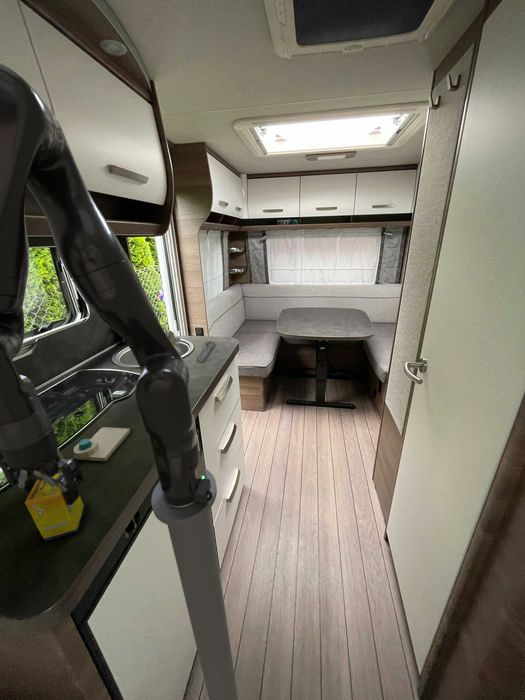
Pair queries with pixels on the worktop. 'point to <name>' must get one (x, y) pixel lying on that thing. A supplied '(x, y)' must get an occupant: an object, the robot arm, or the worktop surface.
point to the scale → (102, 444)
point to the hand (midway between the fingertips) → (54, 499)
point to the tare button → (84, 444)
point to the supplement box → (53, 510)
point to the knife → (206, 352)
